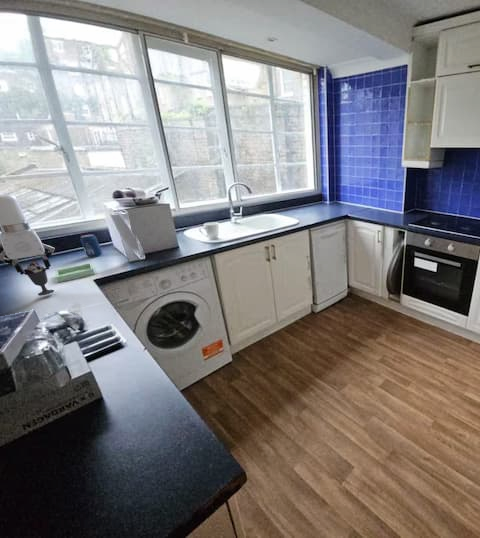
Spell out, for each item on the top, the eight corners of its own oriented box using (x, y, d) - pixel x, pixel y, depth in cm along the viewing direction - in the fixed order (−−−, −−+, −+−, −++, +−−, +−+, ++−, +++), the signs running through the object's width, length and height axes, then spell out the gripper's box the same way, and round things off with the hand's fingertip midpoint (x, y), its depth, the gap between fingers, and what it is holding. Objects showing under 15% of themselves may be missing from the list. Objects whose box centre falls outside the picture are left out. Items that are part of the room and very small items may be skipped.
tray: (57, 282, 136) (55, 277, 135) (58, 275, 144) (55, 270, 143) (94, 274, 144) (92, 269, 143) (92, 267, 152) (90, 262, 151)
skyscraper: (145, 260, 160) (127, 208, 149) (127, 263, 156) (107, 211, 145) (145, 255, 167) (128, 206, 156) (127, 259, 163) (109, 208, 152)
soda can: (100, 252, 174) (92, 233, 169) (104, 254, 170) (96, 235, 166) (85, 256, 169) (77, 236, 164) (89, 258, 165) (80, 238, 160)
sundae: (56, 287, 127) (41, 255, 121) (57, 292, 123) (41, 259, 117) (35, 292, 123) (18, 259, 117) (34, 298, 118) (17, 263, 112)
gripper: (-22, 234, 104) (2, 280, 111) (46, 225, 115) (64, 267, 122) (-19, 230, 109) (5, 274, 116) (47, 222, 120) (64, 263, 127)
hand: (35, 270), depth 119 cm, fingers closed on sundae, 6 cm apart
